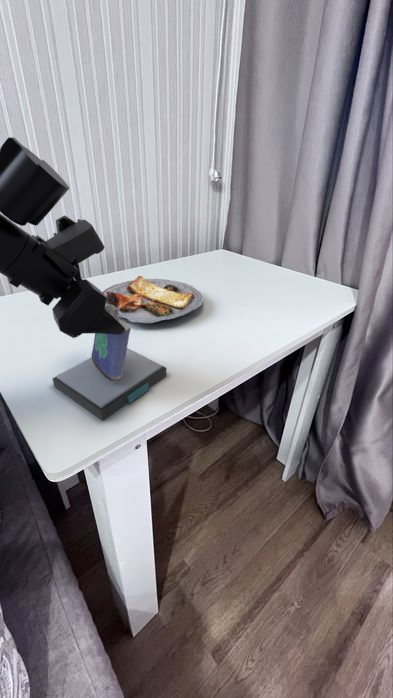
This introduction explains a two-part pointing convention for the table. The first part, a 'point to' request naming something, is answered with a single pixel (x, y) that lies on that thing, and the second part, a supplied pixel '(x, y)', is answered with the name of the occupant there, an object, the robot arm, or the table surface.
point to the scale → (109, 384)
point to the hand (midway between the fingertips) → (112, 317)
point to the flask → (111, 349)
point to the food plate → (152, 299)
